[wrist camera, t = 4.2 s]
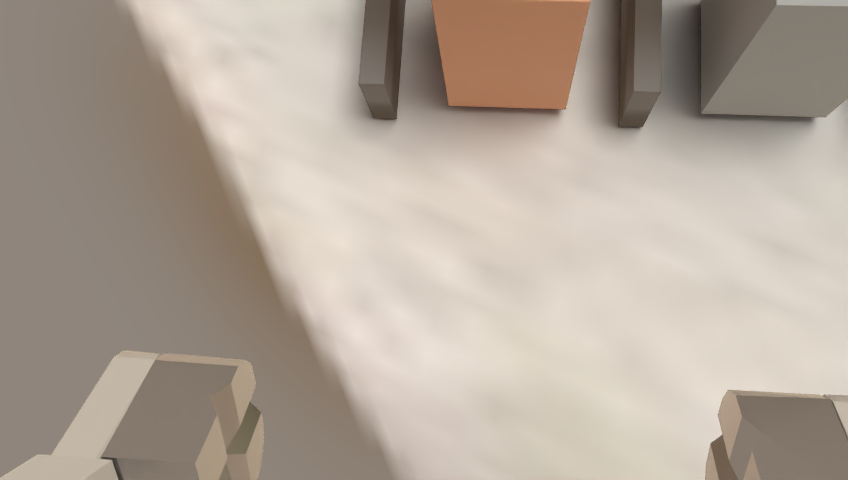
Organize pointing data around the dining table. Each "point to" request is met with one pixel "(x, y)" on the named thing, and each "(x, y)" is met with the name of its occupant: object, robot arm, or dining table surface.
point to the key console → (635, 58)
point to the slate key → (774, 57)
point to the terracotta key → (509, 50)
